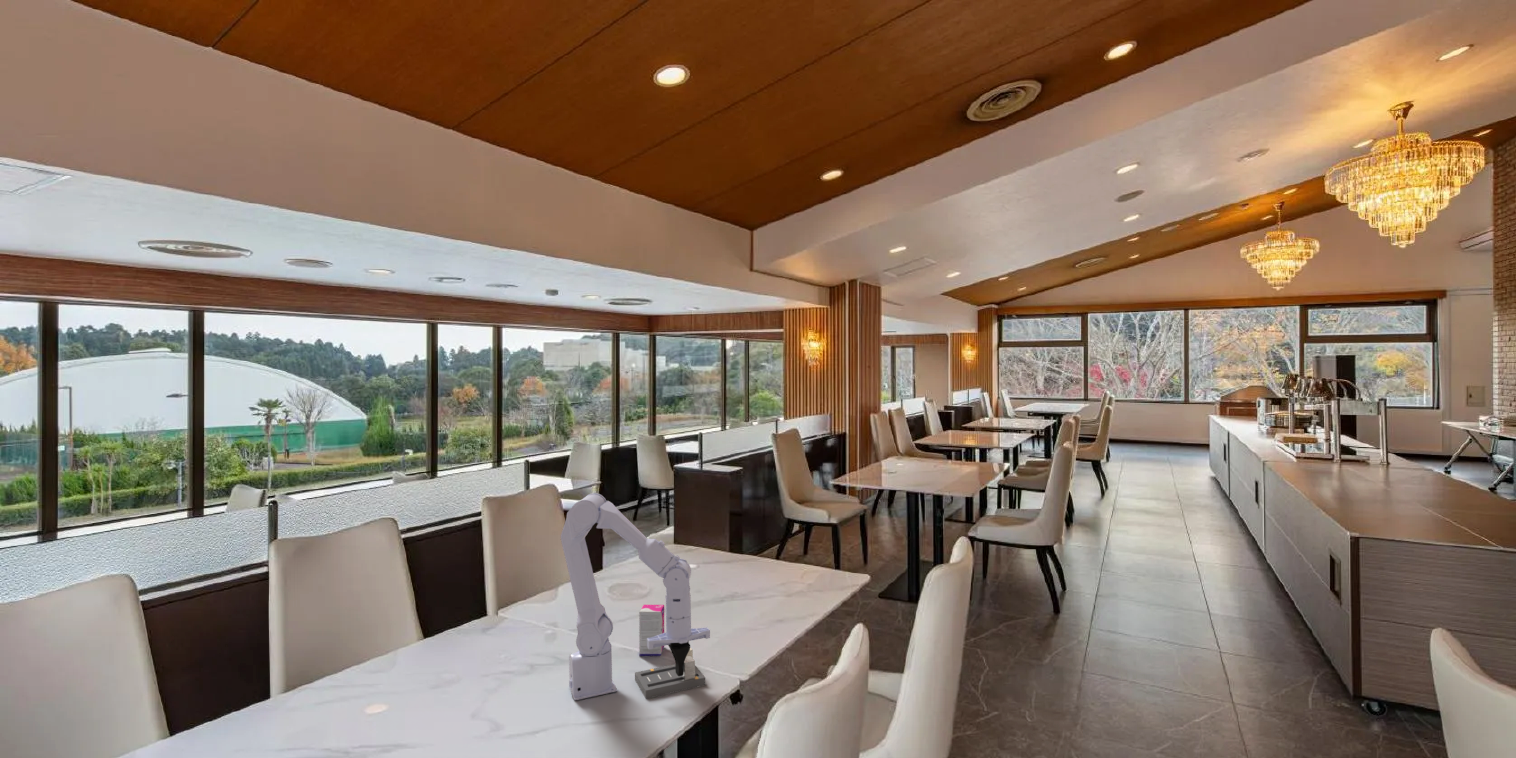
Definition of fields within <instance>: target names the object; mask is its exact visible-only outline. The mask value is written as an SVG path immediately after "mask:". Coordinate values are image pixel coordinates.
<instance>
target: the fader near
mask: <svg viewBox="0 0 1516 758" xmlns="http://www.w3.org/2000/svg"><path fill="white" fill-rule="evenodd" d="M695 662H696V661H695V660H694V657H693V658H692V657H691V656H687V657H686V658H685V661H684V664H683V676H682V677H683V678H684V680H689V679H694V678H695V666H696V663H695Z"/></svg>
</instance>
